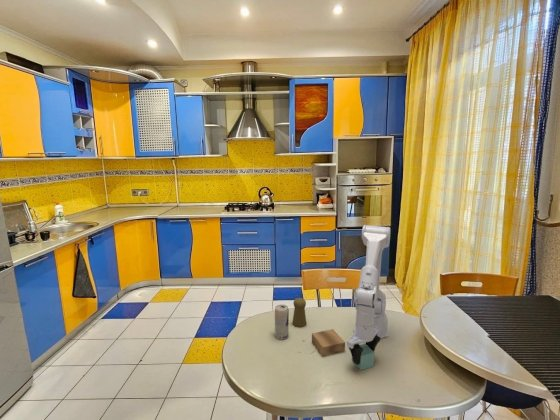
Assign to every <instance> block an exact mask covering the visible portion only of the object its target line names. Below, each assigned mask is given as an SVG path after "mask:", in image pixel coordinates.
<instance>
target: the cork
mask: <svg viewBox="0 0 560 420" xmlns="http://www.w3.org/2000/svg"><path fill="white" fill-rule="evenodd" d="M306 305H307V303H306V300H305V299H304V298H303V297H297V298H294V300H293V307H294V308H293V309H294V310H293V316H292V323H291V324H292V326H293V327H295V328H299V329H302V328H304V327H307V324H308V323H307V317H306V308H305V307H306Z"/></svg>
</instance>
